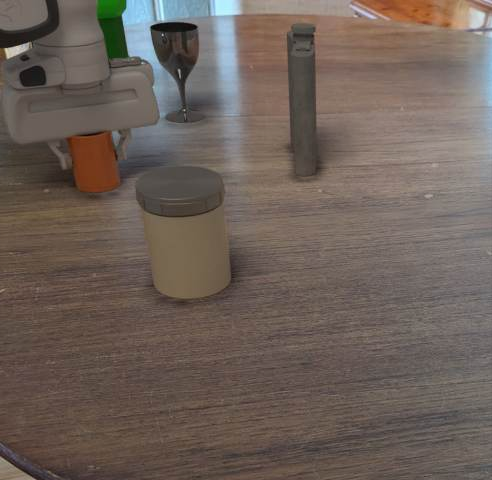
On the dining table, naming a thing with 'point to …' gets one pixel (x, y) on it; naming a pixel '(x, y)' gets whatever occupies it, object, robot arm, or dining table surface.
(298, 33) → the hip flask
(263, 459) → the dining table surface
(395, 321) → the dining table surface
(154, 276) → the jar
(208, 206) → the jar lid
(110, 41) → the plastic bottle
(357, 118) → the dining table surface
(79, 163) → the cup
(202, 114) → the wine glass
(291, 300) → the dining table surface
